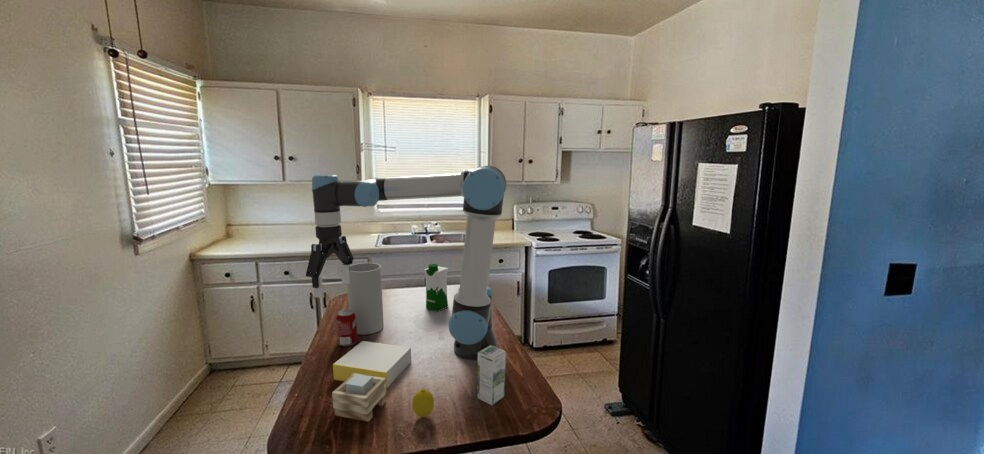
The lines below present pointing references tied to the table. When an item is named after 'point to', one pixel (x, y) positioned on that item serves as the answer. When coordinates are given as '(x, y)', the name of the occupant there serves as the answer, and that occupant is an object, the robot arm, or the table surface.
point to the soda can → (346, 327)
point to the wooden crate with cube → (359, 400)
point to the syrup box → (491, 374)
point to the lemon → (423, 403)
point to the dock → (373, 361)
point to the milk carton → (436, 287)
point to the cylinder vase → (366, 297)
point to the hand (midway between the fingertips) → (333, 290)
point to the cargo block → (359, 385)
